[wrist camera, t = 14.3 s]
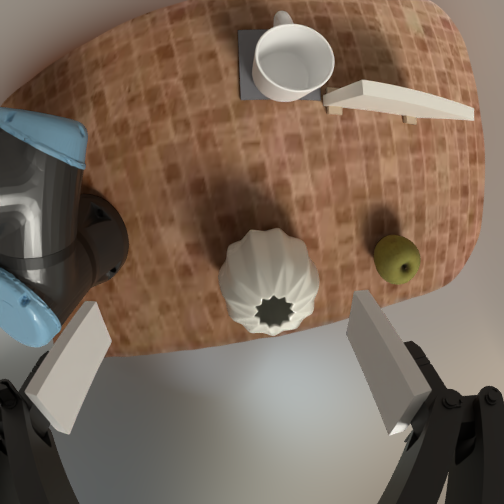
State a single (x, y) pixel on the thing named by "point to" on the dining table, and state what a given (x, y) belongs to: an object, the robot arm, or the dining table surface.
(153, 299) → the dining table surface
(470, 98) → the dining table surface
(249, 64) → the pad
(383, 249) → the apple
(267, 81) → the mug
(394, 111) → the screen
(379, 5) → the dining table surface
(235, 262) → the vase
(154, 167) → the dining table surface
